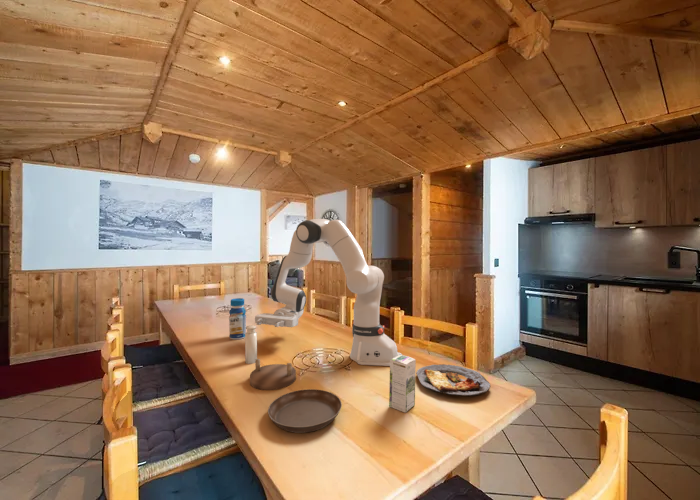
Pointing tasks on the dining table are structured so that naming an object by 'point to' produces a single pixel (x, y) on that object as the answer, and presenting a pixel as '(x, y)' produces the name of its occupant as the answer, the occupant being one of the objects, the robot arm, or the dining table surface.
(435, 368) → the food plate
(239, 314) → the beverage bottle
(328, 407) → the plant saucer
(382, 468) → the dining table surface
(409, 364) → the syrup box
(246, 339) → the bud vase
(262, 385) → the pedestal
